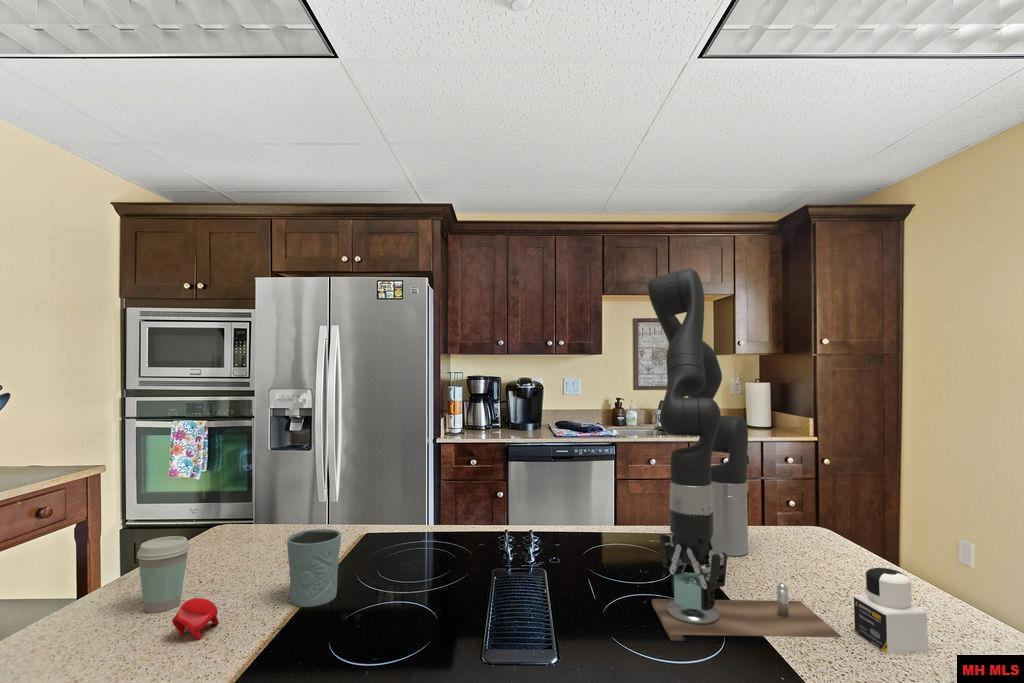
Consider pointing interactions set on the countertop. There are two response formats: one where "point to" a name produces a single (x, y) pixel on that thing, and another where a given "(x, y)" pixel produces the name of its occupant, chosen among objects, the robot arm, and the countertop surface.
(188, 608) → the red toy chair
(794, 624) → the walnut board
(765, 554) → the countertop surface
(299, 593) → the embossed green cup
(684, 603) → the sage ring
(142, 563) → the coffee cup
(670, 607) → the steel hub
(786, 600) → the stand rod
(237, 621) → the countertop surface
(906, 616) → the medicine bottle
